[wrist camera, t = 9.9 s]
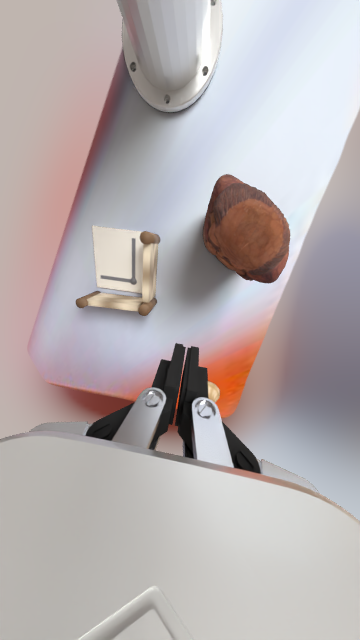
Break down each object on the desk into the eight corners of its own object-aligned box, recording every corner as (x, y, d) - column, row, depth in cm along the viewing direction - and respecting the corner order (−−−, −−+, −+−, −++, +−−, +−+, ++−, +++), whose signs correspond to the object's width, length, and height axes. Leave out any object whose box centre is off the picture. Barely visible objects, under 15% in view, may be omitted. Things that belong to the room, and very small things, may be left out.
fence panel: (146, 296, 36) (135, 305, 30) (146, 304, 37) (136, 314, 31) (93, 290, 37) (74, 298, 31) (94, 298, 37) (76, 307, 32)
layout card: (92, 225, 32) (91, 225, 31) (144, 232, 31) (144, 232, 31) (97, 286, 36) (96, 286, 36) (143, 293, 36) (142, 293, 35)
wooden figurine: (190, 232, 30) (176, 216, 14) (216, 200, 28) (237, 134, 12) (235, 278, 33) (270, 310, 16) (263, 251, 30) (337, 256, 14)
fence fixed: (150, 233, 31) (139, 230, 26) (160, 234, 31) (152, 232, 26) (147, 304, 37) (138, 315, 31) (156, 306, 37) (148, 316, 31)
